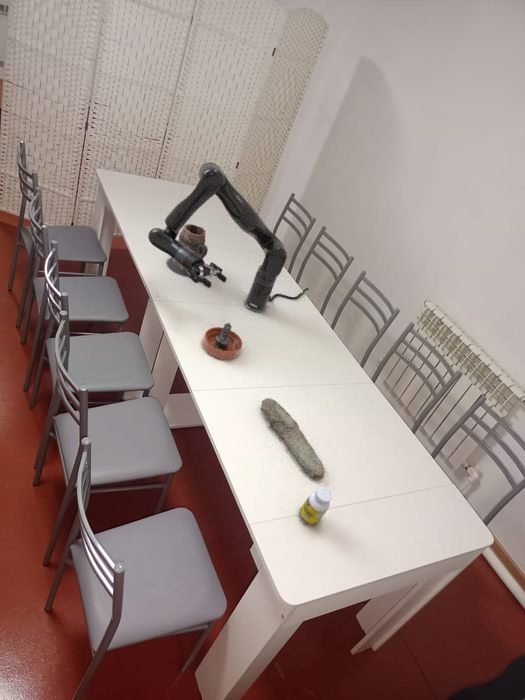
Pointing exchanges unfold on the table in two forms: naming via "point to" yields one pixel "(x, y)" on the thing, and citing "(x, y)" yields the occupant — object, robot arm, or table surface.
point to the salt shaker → (223, 338)
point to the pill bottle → (315, 506)
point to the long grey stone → (293, 438)
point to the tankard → (190, 245)
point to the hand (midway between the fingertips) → (218, 283)
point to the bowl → (232, 347)
